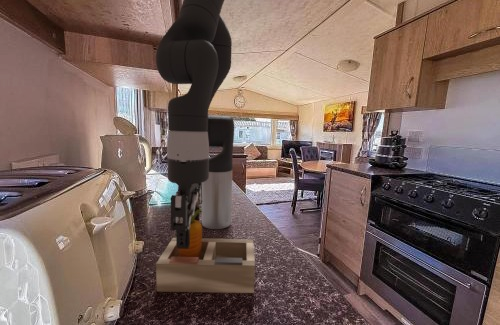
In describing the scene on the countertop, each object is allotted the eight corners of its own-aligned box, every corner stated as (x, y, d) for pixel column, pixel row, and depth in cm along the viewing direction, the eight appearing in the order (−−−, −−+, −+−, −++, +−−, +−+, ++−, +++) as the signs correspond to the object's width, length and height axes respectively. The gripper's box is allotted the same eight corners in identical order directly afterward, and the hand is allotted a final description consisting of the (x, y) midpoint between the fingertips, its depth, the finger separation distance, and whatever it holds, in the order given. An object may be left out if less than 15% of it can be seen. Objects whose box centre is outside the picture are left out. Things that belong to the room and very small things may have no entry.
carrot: (192, 264, 49) (192, 198, 47) (207, 273, 46) (207, 204, 44) (172, 275, 46) (170, 204, 43) (186, 286, 42) (186, 210, 40)
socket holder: (173, 260, 50) (172, 235, 50) (252, 262, 51) (253, 237, 50) (156, 291, 41) (155, 261, 40) (253, 292, 41) (255, 262, 41)
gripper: (179, 150, 49) (180, 221, 52) (152, 160, 35) (155, 256, 38) (213, 152, 49) (213, 221, 52) (201, 162, 35) (201, 257, 38)
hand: (189, 236), depth 45 cm, fingers open, 8 cm apart
